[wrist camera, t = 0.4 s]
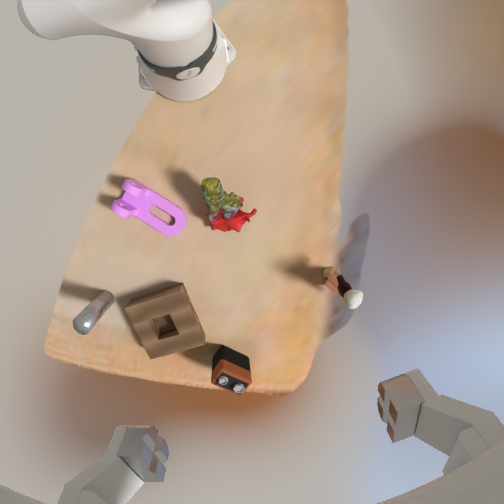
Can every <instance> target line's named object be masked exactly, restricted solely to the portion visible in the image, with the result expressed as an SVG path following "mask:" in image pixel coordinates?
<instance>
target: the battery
mask: <svg viewBox="0 0 504 504" xmlns="http://www.w3.org/2000/svg"><path fill="white" fill-rule="evenodd" d="M211 383H212V384H214V385H216V386H219V387H221V388H223V389H225V390H228V391H230V392H233V393H235V394H238V395H242V394H243V393H244V392H245V390H246V389H247V388H248V387H249V385H250V384H251V383H252V380H251V371H250V363H249V358H248V357H247V356H245V355H243V354H240V353H238V352H236V351H234V350H232V349H230V348H228V347H226V346H224V345H222V346H221V347H220V348H219V350H218V351H217V353H216V354H215V356H214V357H213V363H212V377H211Z"/></svg>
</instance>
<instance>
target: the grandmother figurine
mask: <svg viewBox="0 0 504 504" xmlns="http://www.w3.org/2000/svg"><path fill="white" fill-rule="evenodd" d="M323 276H324V277H326V278H328V279H327V281H326V286H327V287H328V288H329V289H330V290H332V291H334V292H336V293H337V294H339V295H341V296H342V297H343V298H344V301H345V303H346V304H348V307H349V308H350V309H354V308H357V307H358V306H359V305H360V304H361V302H362V299H363V294H362V292H361V291H357V290H355V289H352V288H351V286H350V285H349V283H347V282H346V281H345V280H344V278H343V276H342V275H341V273H340V272H339V270H338V269H335V268H334V267H331V268H326V269H324V270H323Z"/></svg>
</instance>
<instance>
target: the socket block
mask: <svg viewBox="0 0 504 504" xmlns="http://www.w3.org/2000/svg"><path fill="white" fill-rule="evenodd" d="M124 309H125V311H126V313H127V315H128V317H129V319H130V321H131V323H132V325H133V327H134V329H135V331H136V333H137V335H138V337H139V339H140V341H141V343H142V344H143V346H144V348H145V350H146V352H147V354H148V356H149V357H150V359H154V358H158V357H162V356H165V355H169V354H173V353H177V352H181V351H185V350H188V349H192V348H196V347H199V346H203V345H204V343H205V336H206V335H205V333H204V330H203V328H202V326H201V324H200V321H199V319H198V317H197V315H196V312H195V310H194V308H193V305H192V303H191V301H190V298H189V296H188V294H187V291H186V289H185V286H184V284H183V283H182V284H179V285H176V286H173V287H170V288H167V289H164V290H161V291H158V292H155V293H152V294H149V295H146V296H143V297H140V298H136V299H133V300H130V302H129V303H128V304H127V306H126V307H125V308H124Z"/></svg>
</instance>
